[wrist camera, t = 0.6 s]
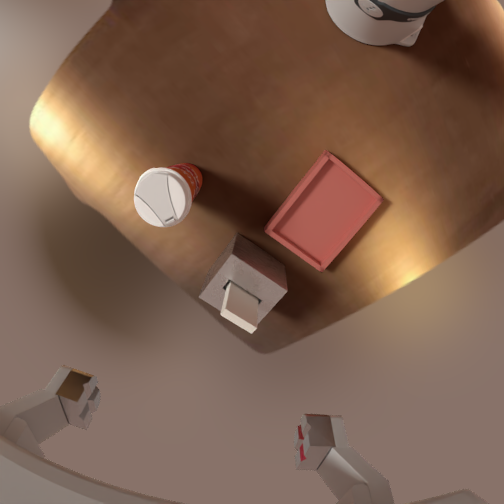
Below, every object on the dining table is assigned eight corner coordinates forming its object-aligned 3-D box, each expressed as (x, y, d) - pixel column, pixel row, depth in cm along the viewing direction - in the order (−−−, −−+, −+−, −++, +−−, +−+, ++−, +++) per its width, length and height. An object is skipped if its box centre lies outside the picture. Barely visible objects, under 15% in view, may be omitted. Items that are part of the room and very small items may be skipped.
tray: (325, 149, 47) (328, 151, 45) (379, 195, 50) (384, 199, 48) (264, 226, 53) (264, 231, 51) (319, 266, 55) (321, 272, 53)
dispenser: (237, 232, 53) (231, 253, 45) (284, 265, 55) (287, 291, 47) (208, 271, 57) (198, 297, 48) (254, 300, 58) (252, 330, 50)
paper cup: (217, 190, 51) (200, 214, 38) (177, 210, 52) (149, 239, 40) (195, 147, 48) (170, 157, 35) (155, 169, 50) (119, 186, 37)
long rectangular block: (234, 267, 52) (225, 308, 41) (259, 284, 53) (257, 328, 42) (229, 273, 52) (220, 314, 41) (254, 289, 53) (251, 333, 42)
